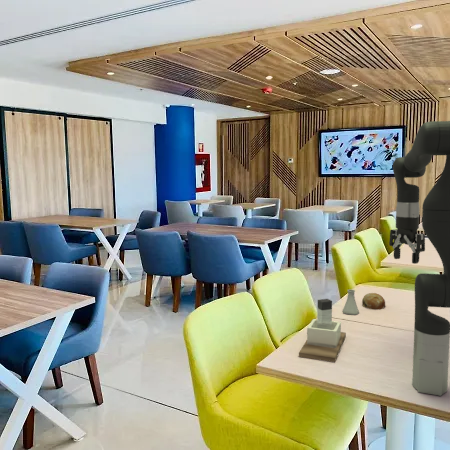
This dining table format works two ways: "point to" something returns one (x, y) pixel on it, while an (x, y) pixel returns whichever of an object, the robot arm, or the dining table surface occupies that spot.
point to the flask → (350, 304)
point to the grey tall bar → (324, 314)
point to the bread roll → (373, 301)
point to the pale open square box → (324, 335)
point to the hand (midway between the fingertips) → (405, 261)
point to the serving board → (322, 351)
